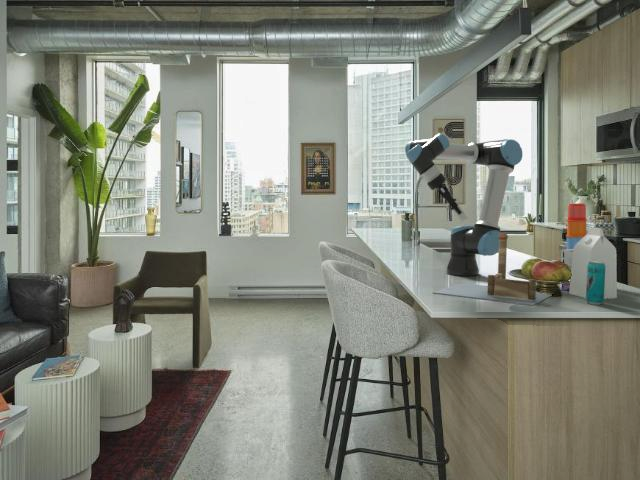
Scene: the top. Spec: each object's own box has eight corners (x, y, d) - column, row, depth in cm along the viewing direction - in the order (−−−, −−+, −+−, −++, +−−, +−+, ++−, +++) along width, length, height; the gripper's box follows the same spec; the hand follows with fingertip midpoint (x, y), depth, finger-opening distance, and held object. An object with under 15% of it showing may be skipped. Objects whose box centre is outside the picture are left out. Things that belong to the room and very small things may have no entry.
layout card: (462, 283, 236) (462, 282, 236) (555, 294, 213) (555, 292, 213) (432, 293, 214) (432, 291, 214) (532, 305, 191) (532, 304, 191)
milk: (616, 298, 205) (620, 228, 203) (588, 299, 204) (592, 229, 201) (595, 292, 217) (598, 226, 215) (569, 293, 215) (572, 227, 213)
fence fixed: (488, 293, 210) (489, 274, 209) (536, 298, 199) (537, 279, 199) (486, 294, 208) (487, 275, 207) (534, 299, 197) (534, 280, 197)
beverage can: (582, 301, 198) (584, 260, 197) (597, 301, 199) (599, 260, 197) (591, 305, 192) (593, 262, 191) (607, 305, 193) (609, 262, 192)
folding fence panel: (496, 293, 209) (498, 234, 207) (487, 293, 211) (489, 234, 209) (507, 287, 222) (508, 232, 220) (498, 286, 224) (499, 232, 222)
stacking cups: (591, 285, 233) (595, 203, 230) (565, 284, 235) (568, 203, 232) (586, 281, 243) (590, 203, 240) (561, 280, 245) (564, 203, 242)
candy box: (596, 289, 223) (598, 249, 222) (599, 292, 218) (600, 251, 216) (559, 287, 228) (561, 248, 226) (561, 290, 222) (562, 249, 221)
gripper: (425, 180, 246) (454, 218, 247) (427, 185, 222) (458, 227, 223) (439, 170, 244) (468, 208, 245) (442, 174, 220) (474, 216, 221)
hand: (463, 217), depth 234 cm, fingers open, 13 cm apart
